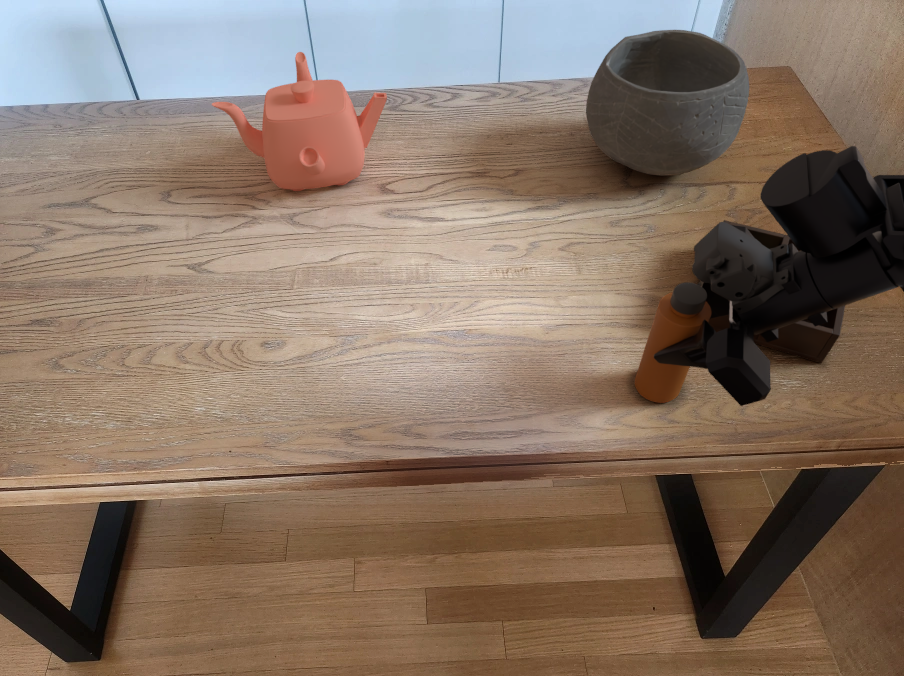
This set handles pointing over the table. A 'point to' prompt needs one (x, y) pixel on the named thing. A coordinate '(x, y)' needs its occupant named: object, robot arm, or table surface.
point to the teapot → (309, 131)
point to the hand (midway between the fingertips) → (658, 340)
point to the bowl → (667, 101)
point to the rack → (801, 334)
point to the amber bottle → (671, 341)
